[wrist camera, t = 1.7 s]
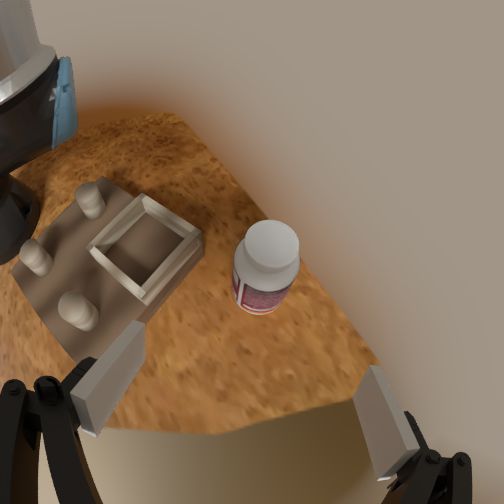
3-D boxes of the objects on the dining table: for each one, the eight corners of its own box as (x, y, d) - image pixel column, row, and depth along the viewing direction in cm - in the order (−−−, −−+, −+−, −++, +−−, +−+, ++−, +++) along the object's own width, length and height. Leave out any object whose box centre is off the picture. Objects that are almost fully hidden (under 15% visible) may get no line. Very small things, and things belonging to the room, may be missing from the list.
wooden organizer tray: (21, 280, 29) (-6, 257, 23) (107, 188, 38) (94, 155, 32) (101, 380, 25) (71, 374, 19) (203, 255, 34) (200, 222, 28)
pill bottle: (294, 292, 33) (323, 245, 23) (258, 326, 30) (275, 291, 21) (257, 258, 35) (270, 201, 25) (220, 289, 32) (219, 239, 23)
